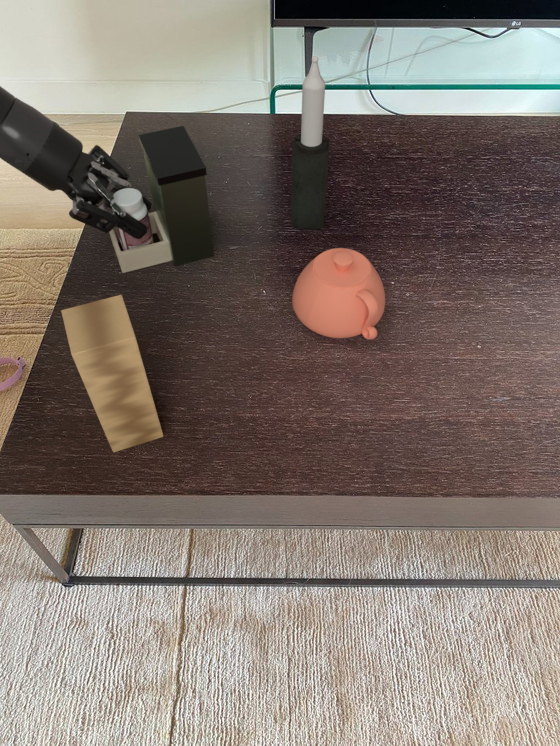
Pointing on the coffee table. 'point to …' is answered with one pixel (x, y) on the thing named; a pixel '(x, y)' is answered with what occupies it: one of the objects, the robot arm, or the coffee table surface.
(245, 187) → the coffee table surface
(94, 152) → the robot arm
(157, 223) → the dock
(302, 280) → the sugar bowl
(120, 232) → the pill bottle
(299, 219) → the candle
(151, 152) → the dispenser
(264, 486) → the coffee table surface
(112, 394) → the stand
